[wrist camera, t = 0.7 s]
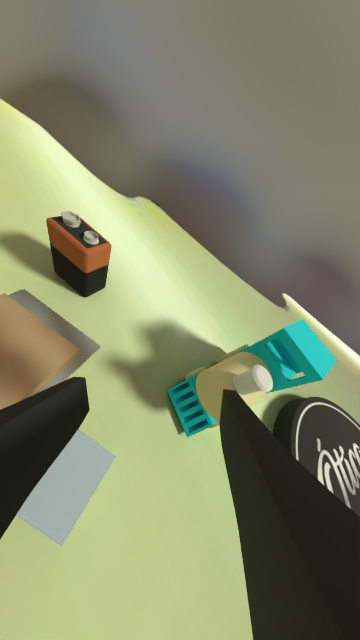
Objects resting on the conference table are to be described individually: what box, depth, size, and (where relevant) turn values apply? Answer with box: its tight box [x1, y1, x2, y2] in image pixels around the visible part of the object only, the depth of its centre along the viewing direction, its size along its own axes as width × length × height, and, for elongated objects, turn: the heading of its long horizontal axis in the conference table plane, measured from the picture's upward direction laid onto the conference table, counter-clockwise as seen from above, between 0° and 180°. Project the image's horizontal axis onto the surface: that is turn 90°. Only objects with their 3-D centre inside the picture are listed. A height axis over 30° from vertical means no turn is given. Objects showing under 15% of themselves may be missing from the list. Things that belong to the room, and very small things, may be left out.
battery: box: [46, 211, 111, 297], centre depth 24 cm, size 4×7×10 cm, turn 57°
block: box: [16, 429, 116, 546], centre depth 14 cm, size 5×5×6 cm
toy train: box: [167, 319, 336, 437], centre depth 23 cm, size 8×17×15 cm, turn 119°
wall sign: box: [273, 397, 360, 516], centre depth 27 cm, size 30×4×30 cm
